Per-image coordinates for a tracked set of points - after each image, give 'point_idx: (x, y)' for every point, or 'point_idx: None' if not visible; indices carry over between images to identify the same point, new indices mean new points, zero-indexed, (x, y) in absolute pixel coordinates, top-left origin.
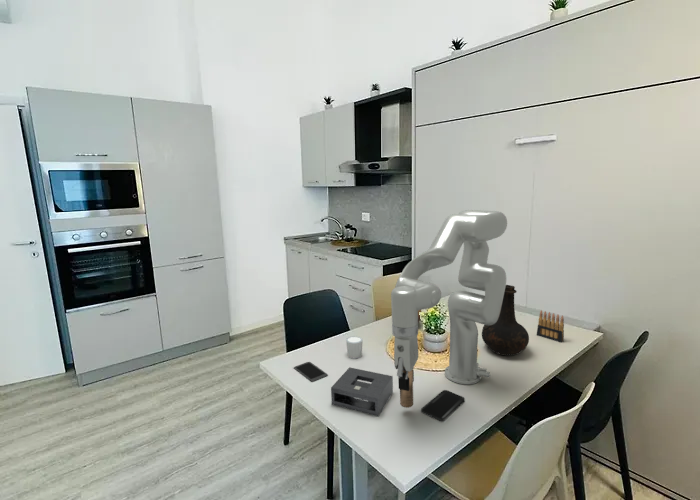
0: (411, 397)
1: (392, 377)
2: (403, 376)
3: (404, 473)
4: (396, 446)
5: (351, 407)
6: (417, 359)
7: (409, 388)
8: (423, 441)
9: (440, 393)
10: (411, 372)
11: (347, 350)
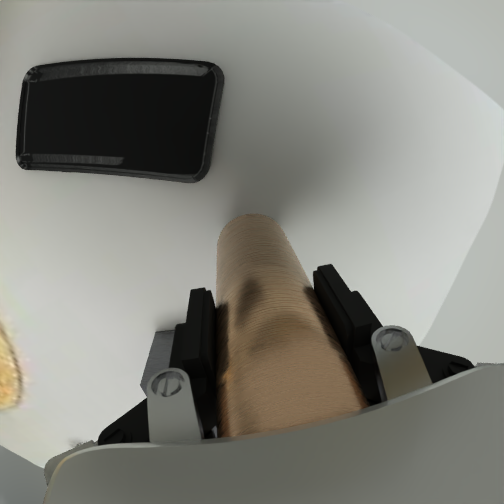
0: (270, 234)
1: (144, 381)
2: (470, 362)
3: (498, 127)
4: (437, 182)
5: None
6: (129, 450)
7: (323, 270)
8: (381, 101)
9: (43, 167)
10: (312, 358)
11: None
